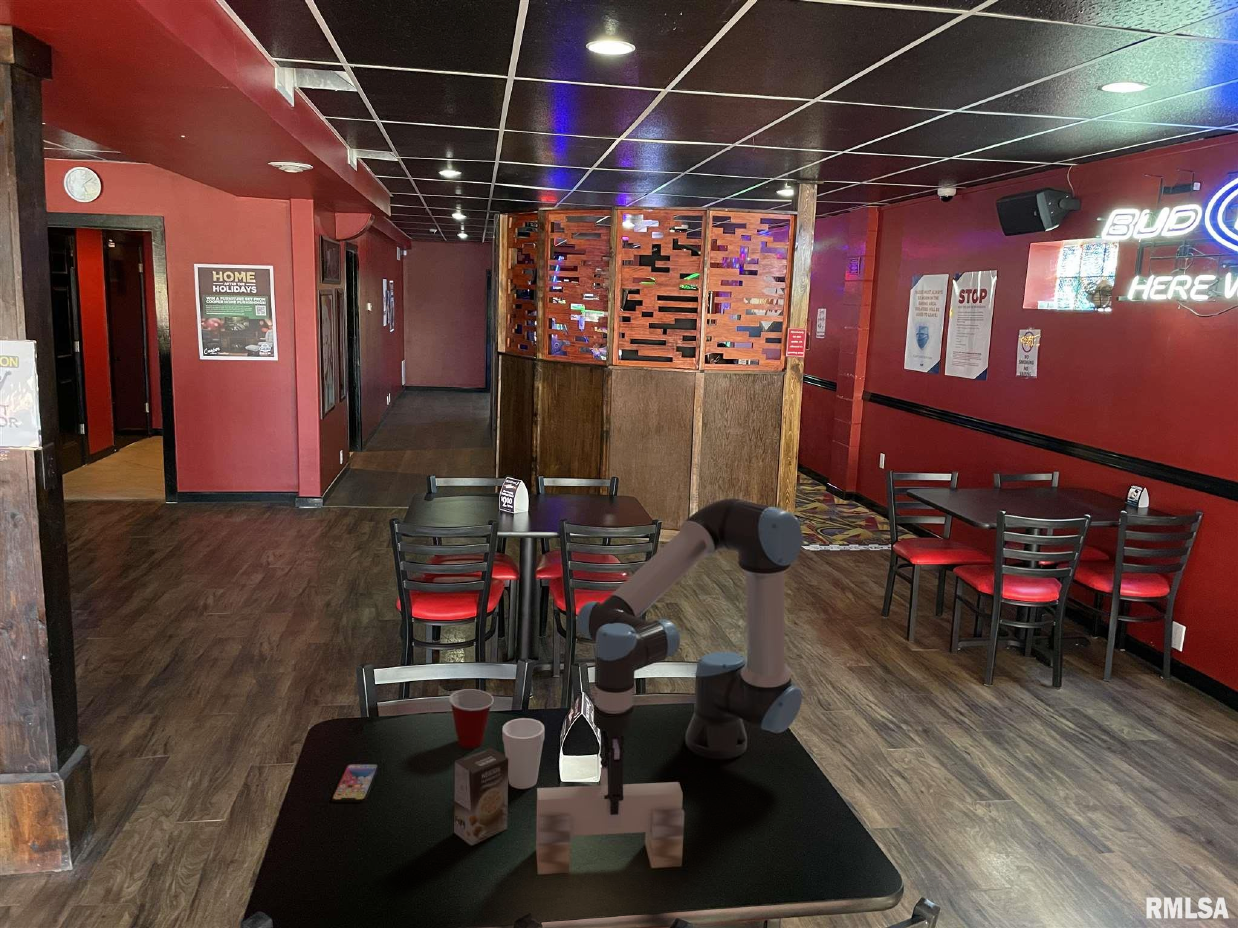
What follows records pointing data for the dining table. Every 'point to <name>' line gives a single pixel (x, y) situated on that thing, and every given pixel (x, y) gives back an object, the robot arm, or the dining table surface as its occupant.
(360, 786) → the smartphone
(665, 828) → the brackets
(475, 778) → the coffee box
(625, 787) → the rail
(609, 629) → the robot arm
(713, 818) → the dining table surface
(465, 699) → the plastic cup
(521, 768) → the foam cup
